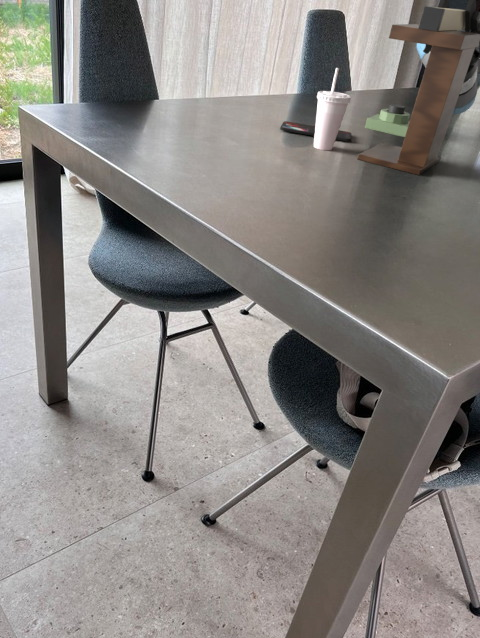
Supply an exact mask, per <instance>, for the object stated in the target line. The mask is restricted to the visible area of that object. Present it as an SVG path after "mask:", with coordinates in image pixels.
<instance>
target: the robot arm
mask: <svg viewBox="0 0 480 638" xmlns="http://www.w3.org/2000/svg"><path fill="white" fill-rule="evenodd" d="M436 8H449V9H450V0H440V1H439V3H438V5H437V7H436ZM464 10H465V30H464V31H465V32H471V33H478V34H480V11H478V10H477V0H469V1H468V3H467V6H466V8H465V9H464ZM431 49H432V45H426V44H420V43H416V50H417V53H418V55H419V58H420V61H421V62H422V64H423V66H424V68H425V69H426V65H427V62H428V59H429V55H430V52H431ZM479 74H480V41H479V44H478V47H475V50H474V52H473V55H472V58H471V61H470V64H469V67H468V70H467V73H466V76H465V79H464V82H463V85H462V88H461V91H460V94H459V97H458V100H457V103H456V105H455V108H454V111H453V114H452V115H460V114H463V113H466V111H468V110H470V108H471V107H472V106H473V105H474V103H475V100H476V98H477V93H478V83H477V82H478V75H479Z"/></svg>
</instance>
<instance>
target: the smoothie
mask: <svg viewBox="0 0 480 638" xmlns="http://www.w3.org/2000/svg"><path fill="white" fill-rule="evenodd" d="M339 70H340V68H339V67H335V71H334V75H333V80H332V84H331V90H320V91H319V90H318V92H317V95H316V99H317V106H316V115H315V125H314V126H315V136H313V137H314V138H313V148H315V149H317V150H321V151H332V150H333V148H334V145H335V143H336V140H335V139H336V137H337V134H338V131H339V130H340V127H341V125H342V123H343V120H344V117H345V114H346V112H347V108H348V106H349V104H350V103H351V100H352V96H351V95H350V94H346V93H343V92H339V91H335V88H336V84H337V79H338V76H339Z"/></svg>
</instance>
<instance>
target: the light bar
mask: <svg viewBox="0 0 480 638" xmlns="http://www.w3.org/2000/svg"><path fill="white" fill-rule="evenodd" d="M465 10H466V9H462V8H450V7H449V8H437V7H435V6H434V7H433V6H427V5H424V6H423V9H422V13H421V17H420V20H419V24H418V25H419V27H418V29H424V30H431V31H448V30H458V31H465Z"/></svg>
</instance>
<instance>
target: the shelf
mask: <svg viewBox="0 0 480 638" xmlns="http://www.w3.org/2000/svg"><path fill="white" fill-rule="evenodd" d="M390 27H391V28H390V32H389V35H388V39H390V40H397V41H403V42H407V43H408V42H409V43H414V44H417V43H420V44H426V45H432V49H431V52H430V55H429V59H428V62H427V65H426V68H425V69H424V72H423V75H422V79H421V82H420V85H419V89H418V92H417V96H416V99H415V102H414V105H413V108H412V112H411V114H410V118H409V121H410V122H409V125H408V128H407V132H406V135H405V137H403V143H402V146H399V145H395V144H391V143H385V142H381V143H379V144H376V145H374V146H373V147H370V148H369V149H366V150H364V151H362V152H360V153H359V154H358V155H357V160H359V161H362V162H365V163H366V162H367V163H370V164H374V165H378V166H382V167H385V168H389V169H392V170H393V169H394V170H398V171H402V172H405V173H408V174H413V175H416V176H420V175H422V174H423V173H425V172H426V171H427V170H429V169H430V168H431V167H433V166H434V165H435V164H436V163H437V164H438V162H439V161H440V159H441V156H439V155H440V153H441V150H442V147H443V143H444V140H445V138H446V135H447V132H448V129H449V126H450V123H451V120H452V117H453V115H454V114H453V111H454V108H455V105H456V103H457V100H458V97H459V94H460V91H461V88H462V85H463V82H464V79H465V76H466V73H467V70H468V67H469V64H470V61H471V58H472V55H473V52H474V50H475V47H478V44H479V41H480V34H478V33H471V32H465V30H448V31H431V30H424V29H418V27H419V24H418V23H405V24H404V23H403V24H397V23H395V24H391V26H390Z"/></svg>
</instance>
